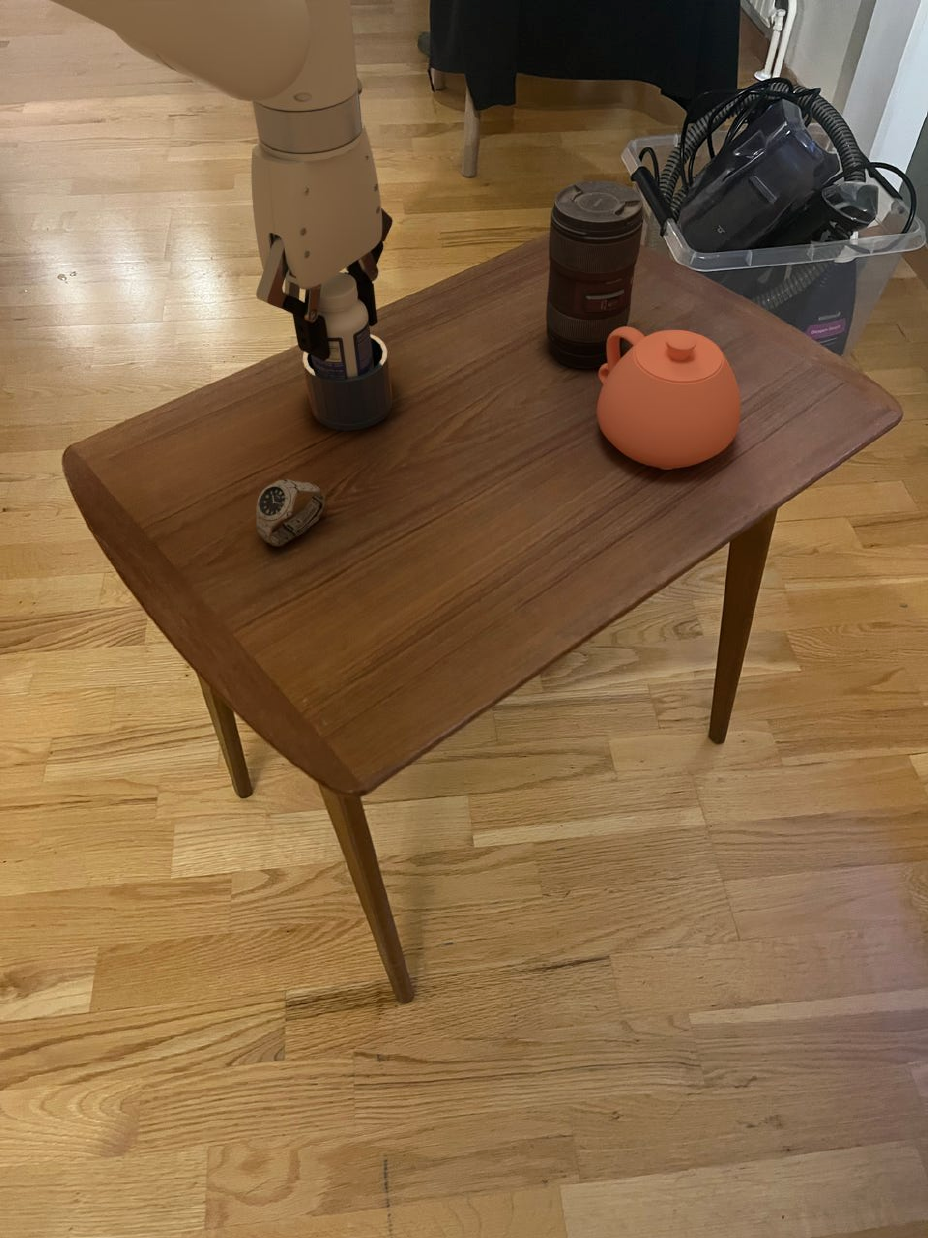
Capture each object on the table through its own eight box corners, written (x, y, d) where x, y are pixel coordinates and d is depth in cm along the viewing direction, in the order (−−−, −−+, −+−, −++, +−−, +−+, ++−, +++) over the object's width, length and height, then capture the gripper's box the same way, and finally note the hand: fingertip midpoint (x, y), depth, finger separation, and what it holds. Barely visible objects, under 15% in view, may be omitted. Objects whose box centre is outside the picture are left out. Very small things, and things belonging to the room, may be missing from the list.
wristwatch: (253, 538, 75) (240, 494, 71) (312, 500, 78) (302, 456, 74) (279, 561, 73) (267, 517, 70) (338, 521, 76) (330, 477, 72)
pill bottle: (361, 357, 85) (350, 260, 78) (384, 389, 82) (375, 291, 75) (307, 373, 84) (290, 276, 76) (328, 406, 81) (313, 308, 73)
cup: (294, 410, 85) (284, 361, 81) (348, 369, 89) (341, 320, 85) (356, 442, 82) (348, 392, 78) (409, 398, 86) (404, 348, 82)
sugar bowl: (670, 504, 76) (692, 407, 68) (552, 425, 83) (559, 327, 75) (761, 438, 81) (790, 340, 73) (642, 368, 88) (657, 271, 80)
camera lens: (636, 334, 91) (658, 186, 80) (609, 381, 87) (628, 231, 75) (560, 316, 94) (571, 169, 82) (530, 360, 89) (537, 212, 77)
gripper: (348, 66, 71) (370, 279, 85) (182, 147, 62) (237, 369, 77) (423, 89, 68) (433, 305, 82) (260, 178, 60) (302, 402, 74)
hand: (338, 334), depth 79 cm, fingers closed on pill bottle, 5 cm apart
